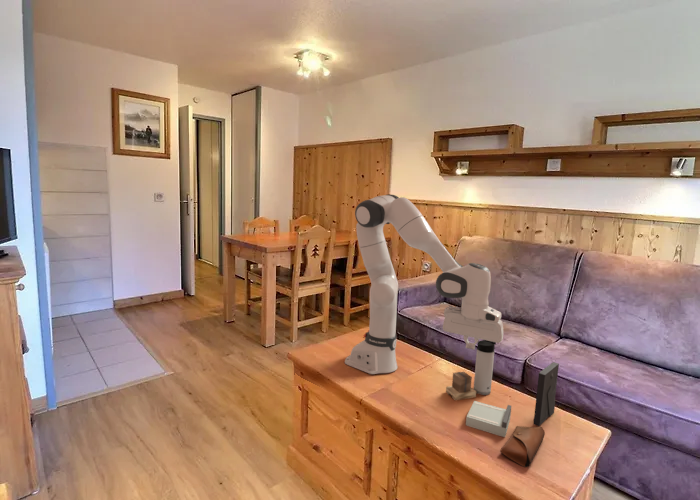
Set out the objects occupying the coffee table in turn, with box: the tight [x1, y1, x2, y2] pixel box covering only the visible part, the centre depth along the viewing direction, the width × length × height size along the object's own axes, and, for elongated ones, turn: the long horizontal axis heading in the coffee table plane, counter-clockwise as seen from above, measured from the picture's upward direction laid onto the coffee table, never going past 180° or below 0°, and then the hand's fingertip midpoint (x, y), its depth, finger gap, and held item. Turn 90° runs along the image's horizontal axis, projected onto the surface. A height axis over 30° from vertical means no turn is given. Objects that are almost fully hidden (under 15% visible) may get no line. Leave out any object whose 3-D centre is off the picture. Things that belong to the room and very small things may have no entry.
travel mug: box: [473, 339, 497, 396], centre depth 149 cm, size 6×7×20 cm
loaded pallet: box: [445, 371, 477, 401], centre depth 147 cm, size 9×6×8 cm, turn 109°
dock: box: [465, 400, 512, 438], centre depth 129 cm, size 12×12×5 cm
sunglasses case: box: [499, 425, 546, 468], centre depth 116 cm, size 18×7×7 cm
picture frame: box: [533, 362, 560, 427], centre depth 132 cm, size 13×2×18 cm, turn 135°
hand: (470, 348), depth 138 cm, fingers closed
